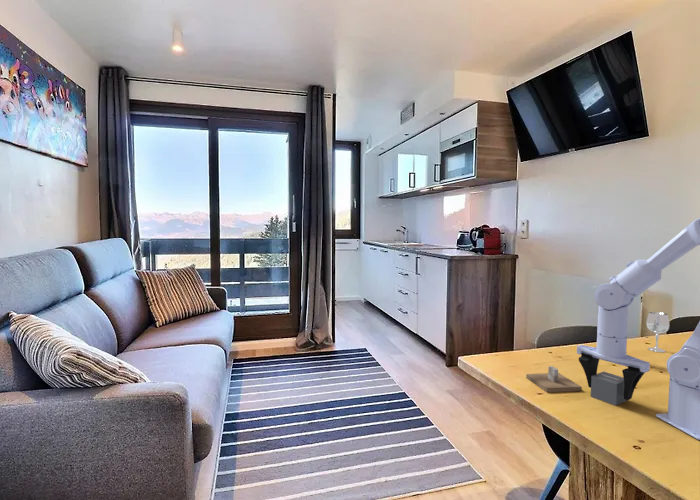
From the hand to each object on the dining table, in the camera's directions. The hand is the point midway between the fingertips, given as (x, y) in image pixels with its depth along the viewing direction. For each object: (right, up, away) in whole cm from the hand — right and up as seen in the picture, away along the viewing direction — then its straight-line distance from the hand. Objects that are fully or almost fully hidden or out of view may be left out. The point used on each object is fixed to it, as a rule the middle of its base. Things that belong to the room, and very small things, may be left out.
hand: (609, 392), depth 90 cm
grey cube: (0, -1, 0) cm, 1 cm away
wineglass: (+39, +1, +35) cm, 52 cm away
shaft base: (-9, -1, +8) cm, 12 cm away
